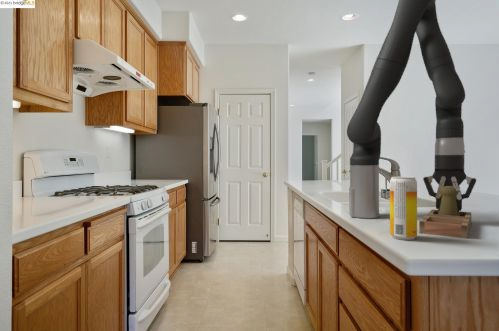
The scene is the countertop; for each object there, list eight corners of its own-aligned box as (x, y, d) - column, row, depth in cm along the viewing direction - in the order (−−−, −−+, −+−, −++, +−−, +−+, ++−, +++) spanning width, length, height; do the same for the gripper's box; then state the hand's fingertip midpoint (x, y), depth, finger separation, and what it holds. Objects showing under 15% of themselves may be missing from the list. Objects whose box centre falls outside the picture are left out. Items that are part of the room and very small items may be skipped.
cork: (464, 224, 93) (465, 186, 93) (441, 223, 94) (441, 186, 94) (455, 220, 99) (456, 184, 99) (434, 219, 100) (434, 184, 100)
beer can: (418, 236, 81) (418, 176, 81) (415, 242, 76) (415, 178, 76) (392, 233, 85) (392, 176, 84) (387, 238, 80) (387, 177, 79)
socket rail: (467, 238, 79) (467, 226, 79) (419, 232, 85) (419, 221, 85) (471, 222, 98) (471, 212, 98) (431, 218, 104) (431, 209, 104)
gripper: (420, 154, 97) (419, 211, 98) (478, 153, 89) (477, 215, 90) (424, 154, 104) (423, 207, 104) (478, 153, 95) (478, 212, 96)
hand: (448, 211), depth 97 cm, fingers closed on cork, 4 cm apart
